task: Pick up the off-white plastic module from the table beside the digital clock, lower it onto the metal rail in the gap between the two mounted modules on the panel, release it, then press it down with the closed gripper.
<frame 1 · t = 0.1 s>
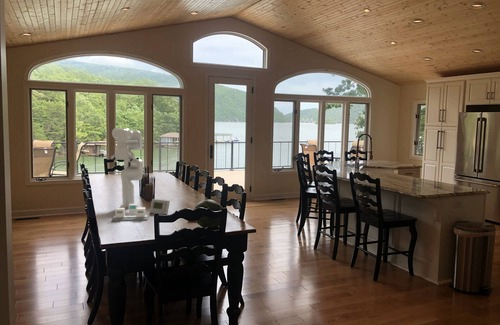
hand: (122, 167, 311), 37 cm above the table, tool pointing down, fingers open, 9 cm apart
module: (133, 214, 313), on the table
rail panel: (130, 218, 300), on the table
digital clock: (159, 213, 317), on the table
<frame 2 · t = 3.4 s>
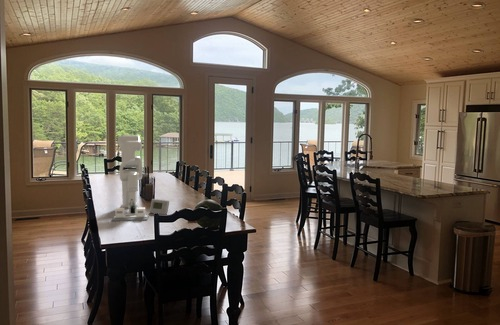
hand: (133, 211, 312), 2 cm above the table, tool pointing down, fingers closed on module, 5 cm apart
module: (133, 214, 313), on the table, touching gripper
everything else where it was.
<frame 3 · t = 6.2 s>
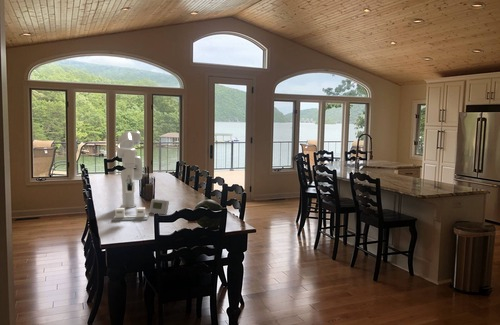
hand: (130, 189, 298), 22 cm above the table, tool pointing down, fingers closed on module, 5 cm apart
module: (130, 192, 298), point 20 cm above the table, touching gripper
everything else where it was.
when the fingers open (5 cm above the table, at t = 9.2 s): module stays where it is, resting on rail panel.
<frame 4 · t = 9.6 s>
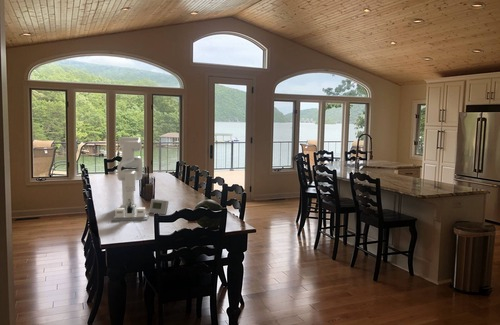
hand: (130, 211, 299), 5 cm above the table, tool pointing down, fingers open, 8 cm apart
module: (130, 216, 300), point 2 cm above the table, touching rail panel
everything else where it was.
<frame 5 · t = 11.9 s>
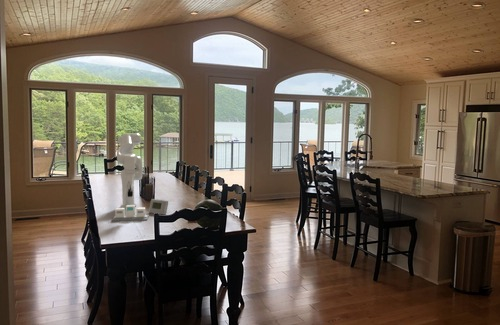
hand: (130, 196, 298), 17 cm above the table, tool pointing down, fingers closed
nothing on the table moved.
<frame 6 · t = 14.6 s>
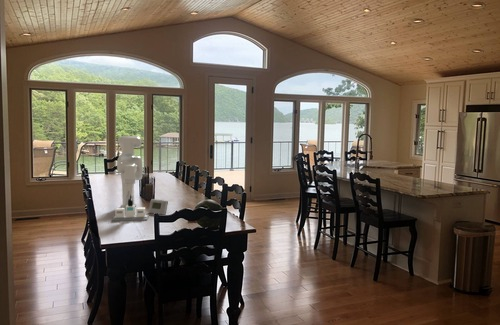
hand: (130, 205, 298), 10 cm above the table, tool pointing down, fingers closed
module: (130, 216, 300), point 2 cm above the table, touching gripper, rail panel
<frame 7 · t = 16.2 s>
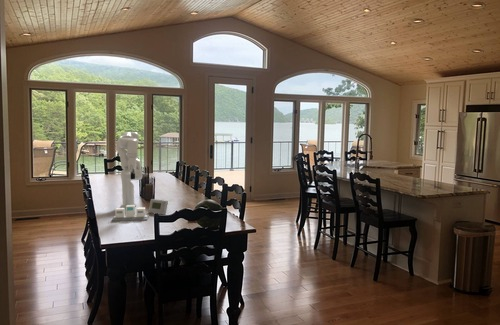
hand: (132, 178, 312), 28 cm above the table, tool pointing down, fingers closed
module: (130, 216, 300), point 2 cm above the table, touching rail panel
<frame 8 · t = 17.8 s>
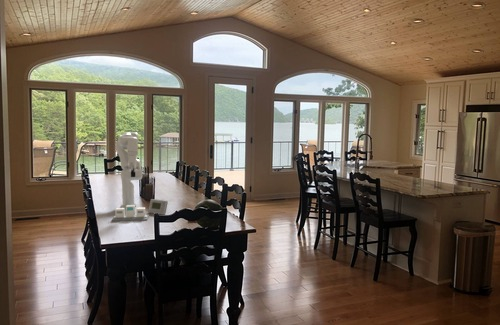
hand: (133, 176, 312), 29 cm above the table, tool pointing down, fingers closed
at the end: module 0.1 cm off-centre on the rail panel, point 1.8 cm above the rail panel's base; module tilted 0°; the gripper is holding nothing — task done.
